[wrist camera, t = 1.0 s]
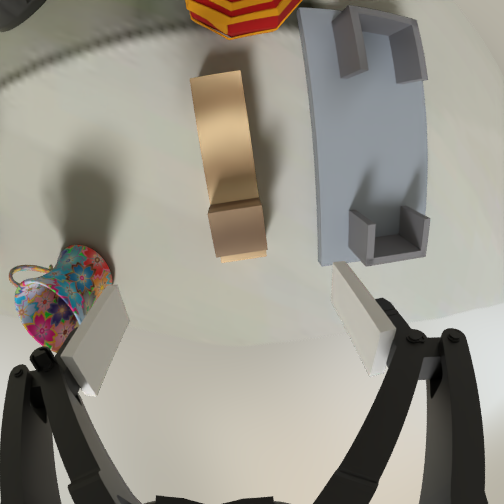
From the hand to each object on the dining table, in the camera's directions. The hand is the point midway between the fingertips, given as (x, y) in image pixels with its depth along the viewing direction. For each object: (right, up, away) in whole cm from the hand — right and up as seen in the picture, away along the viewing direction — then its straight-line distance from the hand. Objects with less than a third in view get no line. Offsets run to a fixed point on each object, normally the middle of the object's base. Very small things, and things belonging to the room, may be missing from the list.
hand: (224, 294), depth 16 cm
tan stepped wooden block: (-1, +12, +12) cm, 17 cm away
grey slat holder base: (+15, +16, +11) cm, 24 cm away
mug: (-21, +1, +15) cm, 26 cm away
